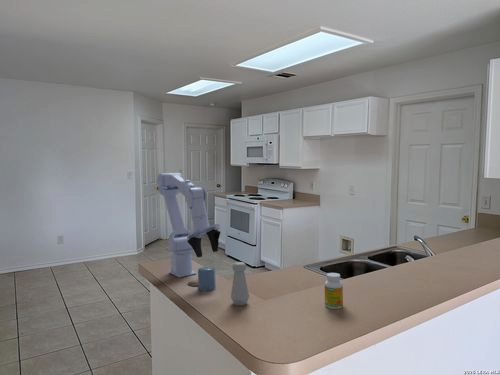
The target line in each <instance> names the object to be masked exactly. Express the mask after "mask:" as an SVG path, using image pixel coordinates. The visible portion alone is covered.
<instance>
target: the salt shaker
mask: <svg viewBox="0 0 500 375" xmlns="http://www.w3.org/2000/svg"><path fill="white" fill-rule="evenodd" d="M246 270H247V264H246V263H245V262H244V261H237V262H234V263H233V264H232V271H233V279H232V286H231V292H230V298H231V300H232V303H233V305H235V306H240V307H241V306H245V304H246V305H247V304H248V300H249V298H250V292H249V288H248V282H247V280H246V275H245V272H246Z"/></svg>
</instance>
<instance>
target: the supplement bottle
mask: <svg viewBox="0 0 500 375" xmlns="http://www.w3.org/2000/svg"><path fill="white" fill-rule="evenodd" d="M343 285H344V284H343V281H341V274H340V273H337V272H327V274H326V280H325V282H324V306H325V307H326V308H327V309H332V310H339V309H342V308H343V307H344V301H343V300H344V293H343V292H344V286H343Z"/></svg>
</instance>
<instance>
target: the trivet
mask: <svg viewBox="0 0 500 375" xmlns="http://www.w3.org/2000/svg"><path fill="white" fill-rule="evenodd" d="M187 285H188V286H189V287H198V279H193V280H189V281H188V282H187Z"/></svg>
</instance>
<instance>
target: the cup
mask: <svg viewBox="0 0 500 375" xmlns="http://www.w3.org/2000/svg"><path fill="white" fill-rule="evenodd" d="M197 280H198V286H197V287H198V290H199V291H201V292H202V291H204V292H205V291H207V292H210V291H213V290H215V289H216V287H217V282H216V268H215V267H213V266H202V267H199V268H198V270H197Z"/></svg>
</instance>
